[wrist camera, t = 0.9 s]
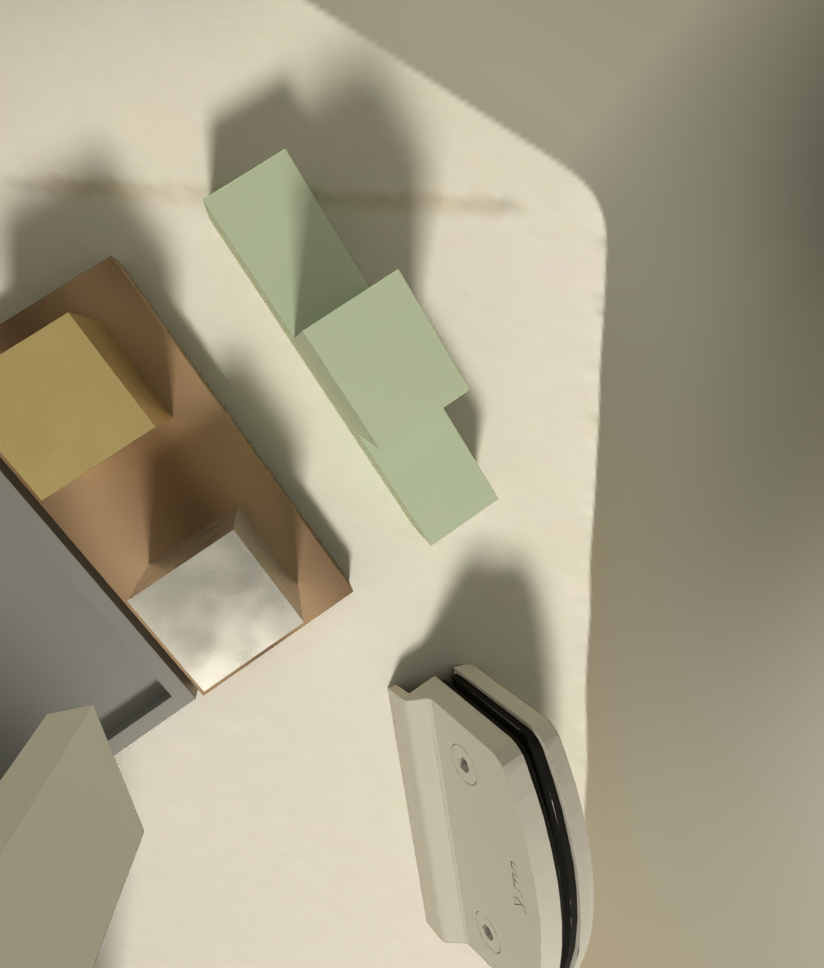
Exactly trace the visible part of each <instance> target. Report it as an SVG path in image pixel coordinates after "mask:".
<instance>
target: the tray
mask: <svg viewBox="0 0 824 968" xmlns="http://www.w3.org/2000/svg"><path fill="white" fill-rule="evenodd" d="M196 694H197V687H196V686H195V685H194V684H193V683H192V682H191V680H190V679H189V678H188V677H187V676H186V675H185V673H184V672H183V671H182V670H181V669H180V667H179V666H178V665H177V664H176V663H175V662H174V660H173V659H172V658H171V657H170V656H169V655H168V653H167V652H166V651H165V650H164V649H163V648H162V646H161V645H160V644H159V643H158V642H157V640H156V639H155V638H154V637H153V636H152V635H151V633H150V632H149V631H148V630H147V629H146V628H145V626H144V625H143V624H142V623H141V622H140V620H139V619H138V618H137V617H136V616H135V615H134V613H133V612H132V611H131V610H130V609H129V608H128V606H127V605H126V604H125V603H124V602H123V601H122V599H121V598H120V597H119V596H118V595H117V593H116V592H115V591H114V590H113V589H112V588H111V586H110V585H109V584H108V583H107V582H106V581H105V579H104V578H103V577H102V576H101V575H100V574H99V572H98V571H97V570H96V569H95V568H94V566H93V565H92V564H91V563H90V562H89V561H88V559H87V558H86V557H85V556H84V555H83V554H82V552H81V551H80V550H79V549H78V548H77V546H76V545H75V544H74V543H73V542H72V541H71V539H70V538H69V537H68V536H67V535H66V534H65V532H64V531H63V530H62V529H61V528H60V527H59V525H58V524H57V523H56V522H55V521H54V519H53V518H52V517H51V516H50V515H49V514H48V512H47V511H46V510H45V509H44V508H43V507H42V505H41V504H40V503H39V502H38V501H37V499H36V498H35V497H34V496H33V495H32V494H31V492H30V491H29V490H28V489H27V488H26V487H25V485H24V484H23V483H22V482H21V481H20V480H19V478H18V477H17V476H16V475H15V474H14V472H13V471H12V470H11V469H10V468H9V467H8V465H7V464H6V463H5V462H4V461H3V460H2V458H1V457H0V781H1V779H2V778H3V776H4V775H5V773H6V772H7V771H8V769H9V768H10V766H11V765H12V763H13V762H14V761H15V759H16V758H17V756H18V755H19V754H20V752H21V751H22V749H23V748H24V746H25V745H26V744H27V742H28V741H29V739H30V738H31V737H32V735H33V734H34V732H35V731H36V729H37V728H38V727H39V725H40V724H41V722H42V721H43V719H44V718H45V717H46V715H47V714H51V713H56V712H61V711H65V710H70V709H75V708H80V707H85V706H90V705H93V706H94V708H95V711H96V713H97V716H98V718H99V721H100V723H101V726H102V728H103V731H104V733H105V736H106V738H107V740H108V743H109V745H110V748H111V750H112V753H113V755H115V754H117V753H118V752H119V751H121V750H122V749H124V748H125V747H127V746H128V745H130V744H131V743H132V742H134V741H135V740H137V739H138V738H140V737H141V736H142V735H144V734H145V733H147V732H148V731H150V730H151V729H153V728H154V727H155V726H157V725H158V724H160V723H161V722H163V721H164V720H165V719H167V718H168V717H170V716H171V715H173V714H174V713H176V712H177V711H178V710H180V709H181V708H183V707H184V706H186V705H187V704H188V703H190V702H191V701H193V700H194V699H196Z"/></svg>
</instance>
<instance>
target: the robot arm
mask: <svg viewBox="0 0 824 968" xmlns="http://www.w3.org/2000/svg"><path fill="white" fill-rule="evenodd" d="M143 834H144V829H143V827H142V824H141V822H140V819H139V817H138V814H137V812H136V809H135V807H134V804H133V802H132V800H131V797H130V795H129V792H128V790H127V787H126V785H125V782H124V780H123V777H122V775H121V772H120V770H119V768H118V765H117V763H116V760H115V758H114V755H113V753H112V750H111V748H110V745H109V743H108V740H107V738H106V736H105V733H104V731H103V728H102V726H101V723H100V721H99V718H98V716H97V713H96V711H95V708H94V706H93V705H90V706H85V707H80V708H75V709H70V710H65V711H61V712H56V713H51V714H47V715H46V717H45V718H44V719H43V721H42V722H41V724H40V725H39V727H38V728H37V729H36V731H35V732H34V734H33V735H32V737H31V738H30V739H29V741H28V742H27V744H26V745H25V746H24V748H23V749H22V751H21V752H20V754H19V755H18V756H17V758H16V759H15V761H14V762H13V763H12V765H11V766H10V768H9V769H8V771H7V772H6V773H5V775H4V776H3V778H2V779H1V781H0V968H93V965H94V963H95V960H96V957H97V955H98V952H99V949H100V947H101V944H102V942H103V939H104V936H105V934H106V931H107V928H108V926H109V923H110V920H111V918H112V915H113V913H114V910H115V907H116V905H117V902H118V899H119V897H120V894H121V891H122V889H123V886H124V884H125V881H126V878H127V876H128V873H129V870H130V868H131V865H132V863H133V860H134V857H135V855H136V852H137V849H138V847H139V844H140V841H141V839H142V836H143Z"/></svg>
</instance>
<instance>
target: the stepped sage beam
mask: <svg viewBox="0 0 824 968" xmlns="http://www.w3.org/2000/svg"><path fill="white" fill-rule="evenodd" d="M203 202H204V204H205V207H206V210H207V213H208V215H209V218H210V220H211V222H212V223H213V225H214V226H215V228H216V230H217V231H218V233H219V234H220V236H221V237H222V239H223V240H224V242H225V243H226V245H227V246H228V248H229V249H230V251H231V252H232V254H233V255H234V257H235V258H236V260H237V261H238V263H239V264H240V266H241V267H242V269H243V270H244V272H245V273H246V275H247V276H248V278H249V279H250V281H251V282H252V284H253V285H254V287H255V288H256V290H257V291H258V293H259V294H260V296H261V297H262V299H263V300H264V302H265V303H266V305H267V306H268V308H269V309H270V311H271V312H272V314H273V315H274V317H275V318H276V320H277V322H278V323H279V325H280V326H281V328H282V329H283V331H284V332H285V334H286V335H287V337H288V338H289V340H290V341H291V343H292V344H293V346H294V347H295V349H296V350H297V352H298V353H299V355H300V356H301V358H302V359H303V361H304V362H305V364H306V365H307V367H308V368H309V370H310V371H311V373H312V374H313V376H314V377H315V379H316V380H317V382H318V383H319V385H320V386H321V388H322V389H323V391H324V392H325V394H326V395H327V397H328V398H329V400H330V401H331V403H332V404H333V406H334V407H335V409H336V410H337V412H338V413H339V415H340V417H341V418H342V420H343V421H344V423H345V424H346V426H347V427H348V429H349V430H350V432H351V433H352V435H353V436H354V438H355V439H356V441H357V442H358V444H359V445H360V447H361V448H362V450H363V451H364V453H365V454H366V456H367V457H368V459H369V460H370V462H371V463H372V465H373V466H374V468H375V469H376V471H377V472H378V474H379V475H380V477H381V478H382V480H383V481H384V483H385V484H386V486H387V487H388V489H389V490H390V492H391V493H392V495H393V496H394V498H395V499H396V501H397V502H398V504H399V505H400V507H401V509H402V510H403V512H404V513H405V515H406V516H407V518H408V519H409V521H410V522H411V524H412V525H413V527H414V528H415V529H416V530H417V531H418V532H419V533H420V534H421V535H422V536H423V537H424V538H425V539H426V541H427V542H428V543H429V544H430V545H431V546H432V545H433V544H434V543H436V542H437V541H439V540H440V539H442V538H443V537H444V536H446V535H447V534H449V533H450V532H452V531H453V530H455V529H456V528H457V527H459V526H460V525H462V524H463V523H465V522H466V521H467V520H469V519H470V518H472V517H473V516H475V515H476V514H477V513H479V512H480V511H482V510H483V509H485V508H486V507H487V506H489V505H490V504H492V503H493V502H495V501H496V500H498V497H497V495H496V494H495V492H494V490H493V489H492V487H491V485H490V484H489V482H488V481H487V479H486V477H485V476H484V474H483V472H482V471H481V469H480V467H479V466H478V464H477V462H476V461H475V459H474V458H473V456H472V454H471V453H470V451H469V449H468V448H467V446H466V444H465V443H464V441H463V440H462V438H461V436H460V435H459V433H458V431H457V430H456V428H455V426H454V425H453V423H452V421H451V420H450V418H449V417H448V415H447V413H446V412H445V410H444V407H445V406H447V405H448V404H450V403H451V402H453V401H454V400H456V399H457V398H459V397H460V396H462V395H463V394H465V393H466V392H468V391H469V390H470V389H469V388H468V386H467V384H466V383H465V381H464V379H463V378H462V376H461V374H460V372H459V371H458V369H457V367H456V366H455V364H454V362H453V361H452V359H451V357H450V356H449V354H448V352H447V350H446V349H445V347H444V345H443V344H442V342H441V340H440V339H439V337H438V335H437V334H436V332H435V330H434V328H433V327H432V325H431V323H430V322H429V320H428V318H427V317H426V315H425V313H424V311H423V310H422V308H421V306H420V305H419V303H418V301H417V300H416V298H415V296H414V295H413V293H412V291H411V289H410V288H409V286H408V284H407V283H406V281H405V279H404V278H403V276H402V274H401V273H400V271H399V269H397V270H396V271H394V272H393V273H391V274H389V275H388V276H386V277H385V278H383V279H382V280H380V281H379V282H377V283H376V284H374V285H372V286H371V287H369V285H368V283H367V282H366V280H365V279H364V277H363V275H362V274H361V272H360V270H359V269H358V267H357V265H356V264H355V262H354V260H353V259H352V257H351V256H350V254H349V252H348V251H347V249H346V247H345V246H344V244H343V242H342V241H341V239H340V237H339V236H338V234H337V233H336V231H335V229H334V228H333V226H332V224H331V223H330V221H329V219H328V218H327V216H326V215H325V213H324V211H323V210H322V208H321V206H320V205H319V203H318V201H317V200H316V198H315V196H314V195H313V193H312V192H311V190H310V188H309V187H308V185H307V183H306V182H305V180H304V178H303V177H302V175H301V173H300V172H299V170H298V169H297V167H296V165H295V164H294V162H293V160H292V159H291V157H290V155H289V154H288V152H287V150H286V149H283V150H282V151H280V152H279V153H277V154H275V155H274V156H272V157H270V158H269V159H267V160H266V161H264V162H262V163H261V164H259V165H257V166H256V167H254V168H253V169H251V170H249V171H248V172H246V173H244V174H243V175H241V176H240V177H238V178H236V179H235V180H233V181H231V182H230V183H228V184H227V185H225V186H223V187H222V188H220V189H218V190H217V191H215V192H214V193H212V194H210V195H209V196H207V197H205V198H204V199H203Z"/></svg>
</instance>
